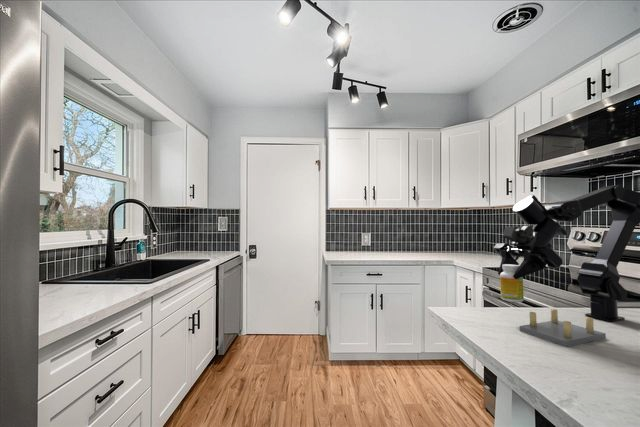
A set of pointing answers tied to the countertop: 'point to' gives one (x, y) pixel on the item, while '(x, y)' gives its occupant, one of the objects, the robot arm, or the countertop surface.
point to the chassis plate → (562, 330)
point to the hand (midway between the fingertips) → (506, 276)
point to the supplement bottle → (511, 284)
